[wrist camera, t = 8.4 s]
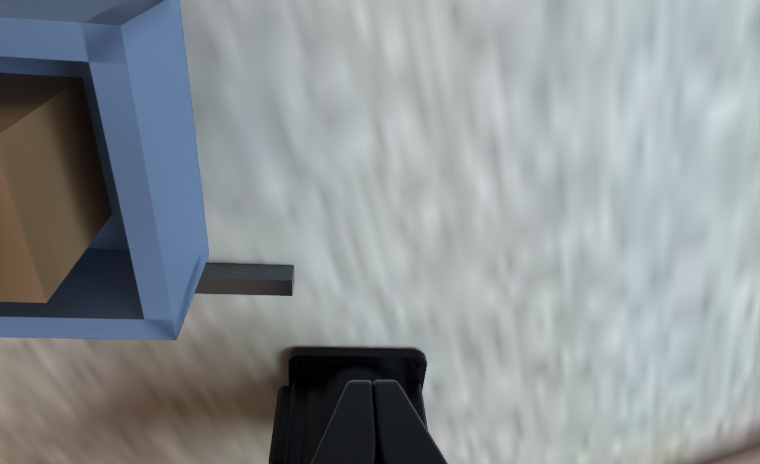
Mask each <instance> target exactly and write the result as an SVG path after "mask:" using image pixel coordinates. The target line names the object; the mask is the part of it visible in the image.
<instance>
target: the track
mask: <svg viewBox="0 0 760 464" xmlns="http://www.w3.org/2000/svg"><path fill="white" fill-rule="evenodd" d="M293 287H294V266H284V265H251V264H219V263H206V264H205V266H204V269H203V272H202V274H201V277H200V279H199V282H198V285H197V287H196V290H195V293H203V294H241V295H280V296H292V294H293Z"/></svg>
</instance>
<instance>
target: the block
mask: <svg viewBox="0 0 760 464" xmlns="http://www.w3.org/2000/svg"><path fill="white" fill-rule="evenodd" d="M111 215H112V211H111V206H110V202H109V197H108V193H107V188H106V184H105V179H104V175H103V170H102V166H101V161H100V157H99V152H98V148H97V143H96V139H95V134H94V130H93V125H92V121H91V116H90V112H89V107H88V103H87V98H86V94H85V89H84V85H83V80H82V78H79V77H64V76H48V75H33V74H18V73H2V72H0V302H27V303H47V302H48V300H49V299H50V298H51V296H52V295H53V294H54V292H55V291H56V289H57V288H58V287H59V285H60V284H61V283H62V281H63V280H64V279H65V277H66V276H67V275H68V273H69V272H70V270H71V269H72V268H73V266H74V265H75V264H76V262H77V261H78V260H79V258H80V257H81V256H82V254H83V253H84V251H85V250H86V249H87V247H88V246H89V245H90V243H91V242H92V241H93V239H94V238H95V237H96V235H97V234H98V232H99V231H100V230H101V228H102V227H103V226H104V224H105V223H106V222H107V220H108V219H109V218H110V216H111Z"/></svg>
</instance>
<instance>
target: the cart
mask: <svg viewBox="0 0 760 464" xmlns="http://www.w3.org/2000/svg"><path fill="white" fill-rule="evenodd" d="M0 72H2V73H18V74H33V75H48V76H64V77H79V78H82V80H83V85H84V89H85V94H86V98H87V103H88V107H89V112H90V116H91V121H92V125H93V130H94V134H95V139H96V143H97V148H98V152H99V157H100V161H101V166H102V170H103V175H104V179H105V184H106V188H107V193H108V197H109V202H110V206H111V211H112V215H111V216H110V218H109V219H108V220H107V222H106V223H105V224H104V226H103V227H102V228H101V230H100V231H99V232H98V234H97V235H96V237H95V238H94V239H93V241H92V242H91V243H90V245H89V246H88V247H87V249H86V250H85V251H84V253H83V254H82V256H81V257H80V258H79V260H78V261H77V262H76V264H75V265H74V266H73V268H72V269H71V270H70V272H69V273H68V275H67V276H66V277H65V279H64V280H63V281H62V283H61V284H60V285H59V287H58V288H57V289H56V291H55V292H54V294H53V295H52V296H51V298H50V299H49V300H48V302H47V303H27V302H0V337H25V338H81V339H137V340H177V337H178V334H179V332H180V329H181V327H182V324H183V321H184V319H185V316H186V314H187V311H188V308H189V306H190V303H191V300H192V298H193V295H194V293H195V290H196V287H197V285H198V282H199V279H200V277H201V274H202V272H203V269H204V266H205V264H206V261H207V258H208V256H209V249H208V240H207V232H206V223H205V215H204V206H203V198H202V189H201V181H200V172H199V163H198V155H197V146H196V138H195V129H194V121H193V112H192V104H191V95H190V87H189V78H188V69H187V61H186V52H185V44H184V35H183V27H182V18H181V10H180V1H179V0H0Z"/></svg>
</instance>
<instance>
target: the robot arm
mask: <svg viewBox="0 0 760 464" xmlns="http://www.w3.org/2000/svg"><path fill="white" fill-rule="evenodd" d="M297 359H302V360H297ZM414 361H418V362H414ZM426 367H427V362H426V356H425V354H424V353H422V352H420V351H390V350H330V349H296V350H294V351H292V352H291V353H290V356H289V386H282V387H281V388H280V389H279V390H278V397H277V404H276V412H275V419H274V426H273V434H272V441H271V449H270V456H269V464H448V463H447V462H446V460H445V458H444V457H443V455H442V453H441V452H440V450H439V448H438V447H437V445H436V443H435V442H434V440H433V439H432V437H431V435H430V434H429V432H428V428H427V422H426V415H425V409H424V402H423V396H422V389H423V383H424V378H425V372H426Z"/></svg>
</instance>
